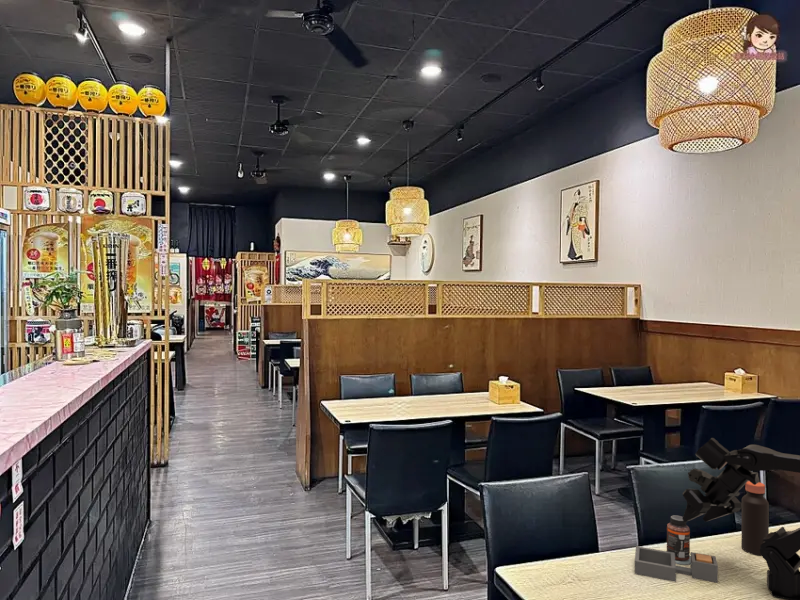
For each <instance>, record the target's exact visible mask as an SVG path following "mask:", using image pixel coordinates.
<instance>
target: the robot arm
mask: <svg viewBox="0 0 800 600" xmlns="http://www.w3.org/2000/svg"><path fill="white" fill-rule="evenodd" d="M695 456H696V457H697V458H699V459H700V460H701V461H702V462H703V463H705V465H706V466H708V467H709V468H710V469H712V470H719V471H720V470H722V469H723V468H724V467H725V466H726V467H725V468H724V469H723V470H722V471H721V472H720V473H719V475H717V476H714V475H712V474H710V473H708V472H707V471H705V470H702V469H698V468H692V469H690V470H689V471H688V472H687V477H688V479H689V481H690V482H693V483H695V484H697V485H698V486H699V487H700V486H701V487H700V490H701V491H700V490H699V489H696V488H695V489H694V488H686V489H685V490H684V491H683V492H682V496H683V497H684V499H685V501H686V507H685V510H684V514H683V515H682V517H683V518H682V519H683V521H684V522H686V523H688V522H689V521H692V520H694V519H696V518H698V517H700V516H703V515H704V516H703V517H702V521H704V522H705V523H707V522H709V521H712V520H715V519H719V518H722V517H725V516H728V515H733V514H734V513H739V512H740V511H741V510H742V501H740V500H739V499H738V497H739V496H740V495H741V493H740V492H739V491H740V490H741V489H743V487H744V486H745V484H746V483H747V482H748V481H750V482H751V483H752V484H754V485H756V484H757V483H759V482H760V481H761V480H760V477H759V473H758V472H762V471H763V472H765V471H785V472H794V473H800V455H798V454H791V453H783V452H780V451H776V450H775V449H771V448H769V447H766V446H762V445H759V444H749V445H746V447H743V448H741V449H738V450H737V449H734V450H731V451H729V450H728V449H727V448H726V447H724V446H723V444H721V443H719V441H718V440H716V439H715V438H714V437H711V438H710V439H709V440H708V441H707V442H705V443H704V444H703V445H702V446H701V447H699V448H698V449H697V450H696V452H695ZM727 464H728V465H727ZM760 483H761V482H760ZM702 492H704V494H703V493H702ZM763 541H764V542H763V543H762V544H761V546H760V553H761V555H760V556H761V557H762V559H764V561H765V562H766V564H767V567H768V569H767V570H766V586H767V589H768V591H769V592H770V594H771V596H772V597H774V598H779V599H784V600H800V555H799V554H798V552H799V551H800V527H798V528H796V529H793V530H789V531H788V530H786V528H785V527H784V526H781V527H780V528H779V529H777V530H776V531H773V532H772V531H771V532H770V531H769V534H768V535H767V536H766V537H765V538H764V539H763Z"/></svg>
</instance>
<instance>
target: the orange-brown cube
mask: <svg viewBox="0 0 800 600" xmlns="http://www.w3.org/2000/svg"><path fill="white" fill-rule="evenodd" d="M695 553H696V561H700V562H706V563H712V559H711V556H712V555H711V556H708V555H709V554H705V555H702V554H703V553H700V554H697V553H698V552H695Z"/></svg>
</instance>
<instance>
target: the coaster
mask: <svg viewBox="0 0 800 600" xmlns="http://www.w3.org/2000/svg"><path fill="white" fill-rule="evenodd" d="M675 564H676V565H678V566H689V565H690V566H691V555H690V557H689V559H688V560H686V561H679V560H675Z"/></svg>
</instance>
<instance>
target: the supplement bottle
mask: <svg viewBox="0 0 800 600" xmlns="http://www.w3.org/2000/svg"><path fill="white" fill-rule="evenodd" d="M682 518H683V515H682V516H681V515H674V514H673V515H671V516H670V520H669V521H670V522H669V523H667V524H666V525H667V526H666V551H667V552H673V553H675V560H679V561H686V560H688V559H689V557H690V556H691V547H690V545H691V541H690V539H691V537H690V536H691V534H690V533H691V529H690V527H689V526H688V525H687V522H684V521H683V519H682Z"/></svg>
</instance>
